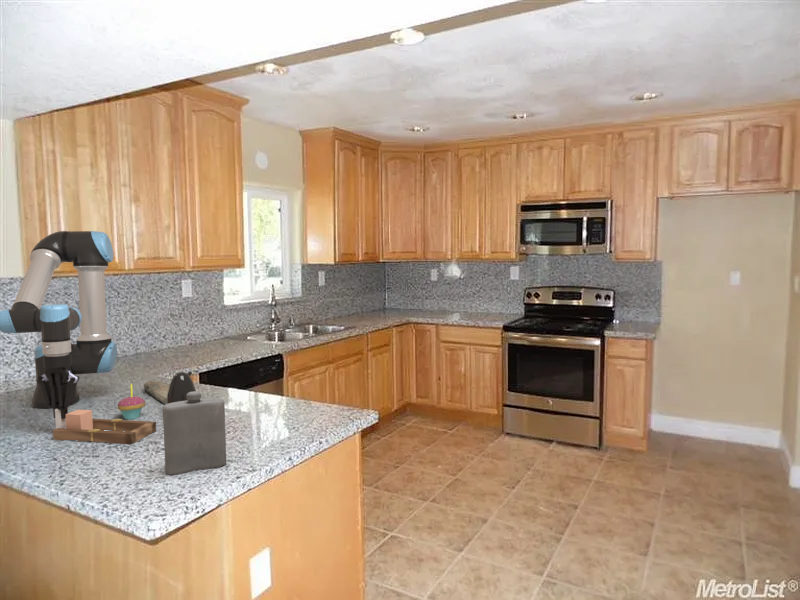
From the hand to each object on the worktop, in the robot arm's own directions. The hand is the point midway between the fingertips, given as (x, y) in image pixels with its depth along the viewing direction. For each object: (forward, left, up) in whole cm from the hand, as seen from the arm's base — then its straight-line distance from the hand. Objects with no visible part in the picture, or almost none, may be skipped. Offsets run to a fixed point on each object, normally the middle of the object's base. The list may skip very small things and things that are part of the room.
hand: (61, 428), depth 166 cm
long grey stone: (-45, +6, -2) cm, 45 cm away
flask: (+19, +56, -2) cm, 59 cm away
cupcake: (-18, +11, -2) cm, 21 cm away
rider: (0, +6, -2) cm, 7 cm away
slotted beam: (0, +15, -2) cm, 15 cm away
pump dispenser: (-23, +27, -2) cm, 36 cm away
